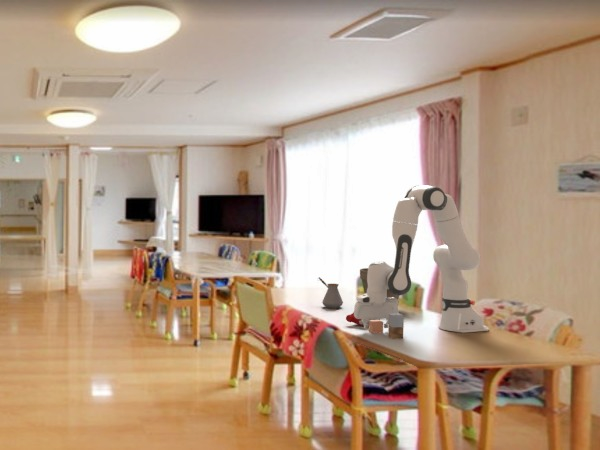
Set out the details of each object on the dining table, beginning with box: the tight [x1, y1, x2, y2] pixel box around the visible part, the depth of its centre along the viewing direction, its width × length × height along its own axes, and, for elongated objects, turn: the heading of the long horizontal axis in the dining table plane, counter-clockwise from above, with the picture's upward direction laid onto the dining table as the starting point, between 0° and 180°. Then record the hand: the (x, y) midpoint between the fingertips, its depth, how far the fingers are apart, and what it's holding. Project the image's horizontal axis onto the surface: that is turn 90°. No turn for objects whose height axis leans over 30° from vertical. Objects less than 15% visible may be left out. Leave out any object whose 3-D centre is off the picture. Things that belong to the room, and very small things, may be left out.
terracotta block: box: [368, 319, 384, 334], centre depth 280 cm, size 5×5×5 cm
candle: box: [345, 311, 381, 327], centre depth 294 cm, size 9×11×15 cm
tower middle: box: [388, 312, 405, 328], centre depth 269 cm, size 5×5×5 cm
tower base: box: [387, 324, 404, 340], centre depth 269 cm, size 5×5×5 cm
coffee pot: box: [317, 277, 344, 309], centre depth 347 cm, size 21×12×15 cm, turn 29°
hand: (376, 328), depth 280 cm, fingers open, 8 cm apart
